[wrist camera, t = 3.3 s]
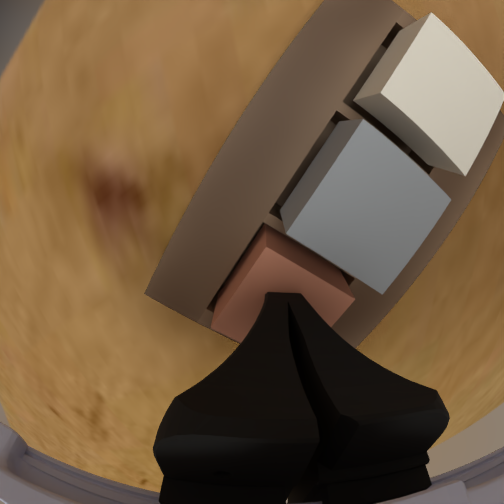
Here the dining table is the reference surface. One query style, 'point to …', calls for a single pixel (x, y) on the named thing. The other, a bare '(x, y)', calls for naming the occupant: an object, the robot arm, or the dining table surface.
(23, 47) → the dining table surface
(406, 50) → the cream key
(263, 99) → the key block
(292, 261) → the terracotta key
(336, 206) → the slate key
